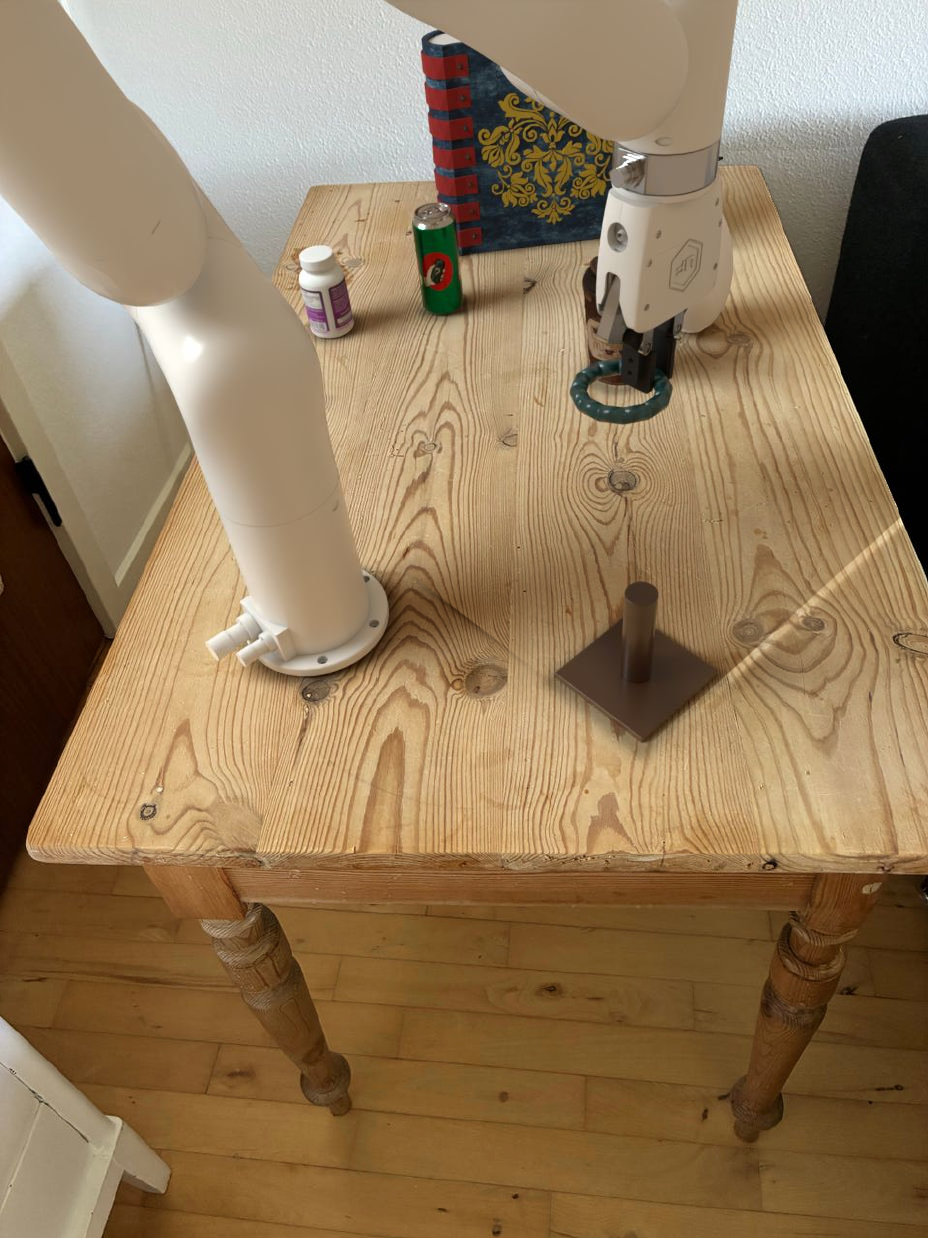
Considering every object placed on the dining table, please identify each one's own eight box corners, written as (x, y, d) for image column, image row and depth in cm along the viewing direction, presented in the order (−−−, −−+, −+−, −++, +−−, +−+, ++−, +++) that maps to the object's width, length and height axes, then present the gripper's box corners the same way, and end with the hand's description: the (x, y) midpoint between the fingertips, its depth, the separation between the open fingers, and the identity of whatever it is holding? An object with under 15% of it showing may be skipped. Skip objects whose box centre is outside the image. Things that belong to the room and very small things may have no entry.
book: (443, 259, 124) (420, 49, 105) (440, 234, 128) (418, 29, 110) (634, 236, 123) (644, 21, 105) (624, 212, 128) (632, 2, 109)
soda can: (472, 307, 115) (463, 210, 106) (437, 322, 113) (426, 225, 104) (449, 291, 118) (439, 196, 109) (415, 306, 116) (402, 210, 107)
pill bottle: (348, 312, 117) (333, 237, 109) (359, 333, 113) (344, 257, 106) (306, 322, 116) (289, 248, 109) (315, 344, 112) (298, 268, 105)
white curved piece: (717, 351, 104) (738, 188, 91) (648, 342, 106) (658, 182, 93) (731, 314, 109) (753, 154, 95) (664, 306, 111) (676, 149, 98)
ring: (625, 440, 76) (626, 425, 75) (550, 399, 80) (550, 385, 79) (691, 394, 79) (693, 380, 78) (616, 358, 84) (616, 344, 83)
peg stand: (640, 747, 71) (649, 662, 63) (554, 682, 75) (552, 595, 68) (716, 679, 74) (732, 590, 67) (629, 621, 79) (635, 532, 71)
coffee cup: (655, 399, 99) (664, 285, 89) (577, 396, 101) (577, 283, 91) (661, 353, 105) (669, 241, 95) (586, 350, 106) (587, 240, 97)
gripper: (631, 214, 62) (617, 439, 76) (774, 138, 69) (738, 358, 82) (550, 184, 66) (551, 403, 80) (693, 115, 73) (671, 328, 86)
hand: (646, 379), depth 81 cm, fingers closed on ring, 1 cm apart
